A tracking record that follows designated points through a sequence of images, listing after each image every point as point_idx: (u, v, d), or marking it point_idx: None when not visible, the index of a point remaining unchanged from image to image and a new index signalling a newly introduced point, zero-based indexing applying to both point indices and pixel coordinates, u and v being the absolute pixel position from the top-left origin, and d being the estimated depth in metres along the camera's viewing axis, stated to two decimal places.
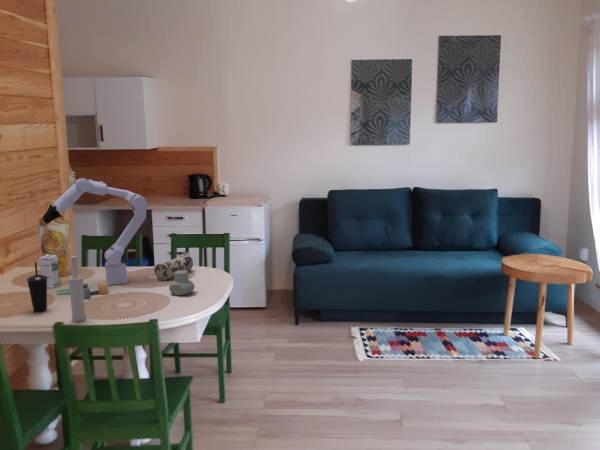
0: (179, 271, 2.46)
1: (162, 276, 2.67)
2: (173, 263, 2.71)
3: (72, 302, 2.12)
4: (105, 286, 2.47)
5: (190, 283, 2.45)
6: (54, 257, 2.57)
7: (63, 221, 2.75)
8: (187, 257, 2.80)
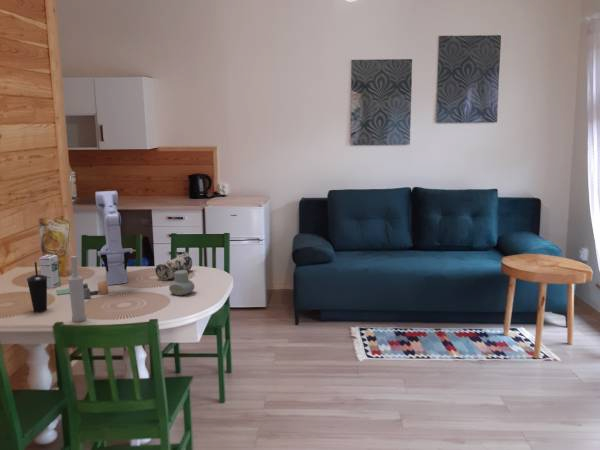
0: (179, 271, 2.46)
1: (163, 276, 2.67)
2: (174, 263, 2.71)
3: (72, 302, 2.12)
4: (105, 286, 2.47)
5: (190, 283, 2.45)
6: (54, 257, 2.57)
7: (63, 221, 2.75)
8: (186, 257, 2.81)
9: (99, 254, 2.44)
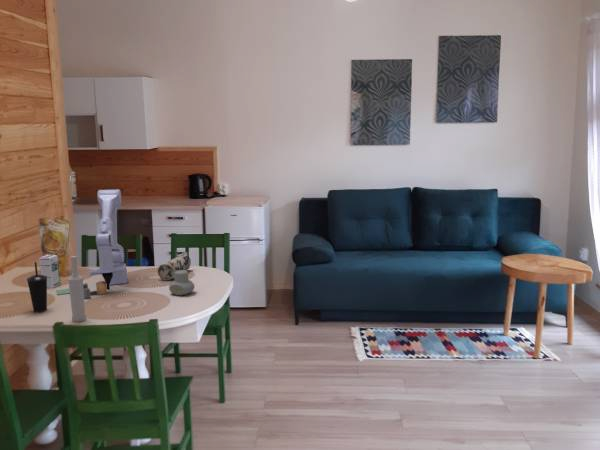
0: (179, 271, 2.46)
1: (166, 276, 2.66)
2: (175, 263, 2.71)
3: (72, 302, 2.12)
4: (103, 286, 2.46)
5: (190, 283, 2.45)
6: (54, 257, 2.57)
7: (63, 221, 2.75)
8: (185, 256, 2.81)
9: (91, 274, 2.44)
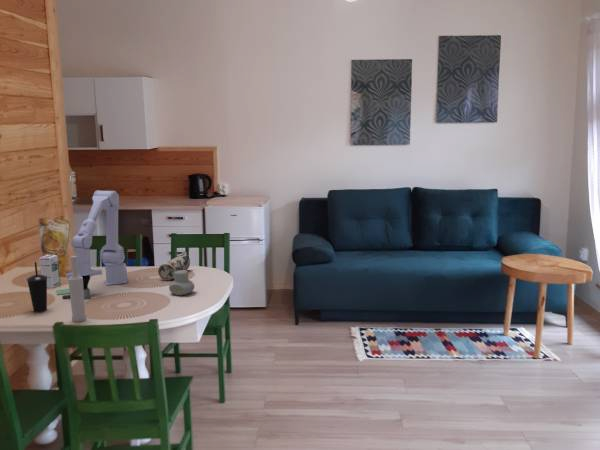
0: (179, 271, 2.46)
1: (167, 276, 2.66)
2: (175, 263, 2.71)
3: (72, 302, 2.12)
4: None
5: (190, 283, 2.45)
6: (54, 257, 2.57)
7: (63, 221, 2.75)
8: (185, 256, 2.82)
9: (68, 277, 2.40)
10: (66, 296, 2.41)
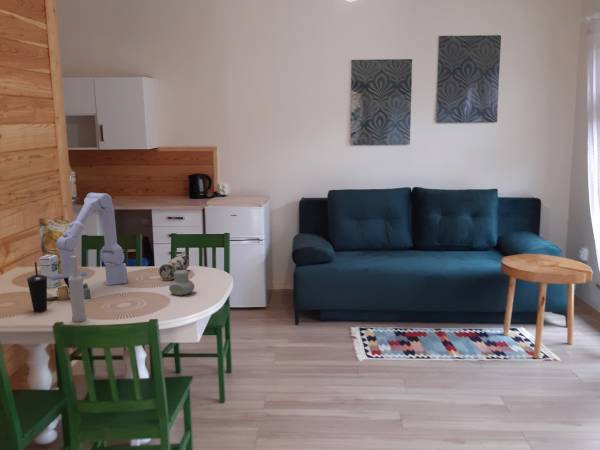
0: (179, 271, 2.46)
1: (168, 276, 2.66)
2: (176, 263, 2.71)
3: (72, 302, 2.12)
4: (65, 291, 2.40)
5: (190, 283, 2.45)
6: (54, 257, 2.57)
7: (63, 221, 2.75)
8: (184, 256, 2.82)
9: (52, 279, 2.37)
10: (50, 298, 2.38)
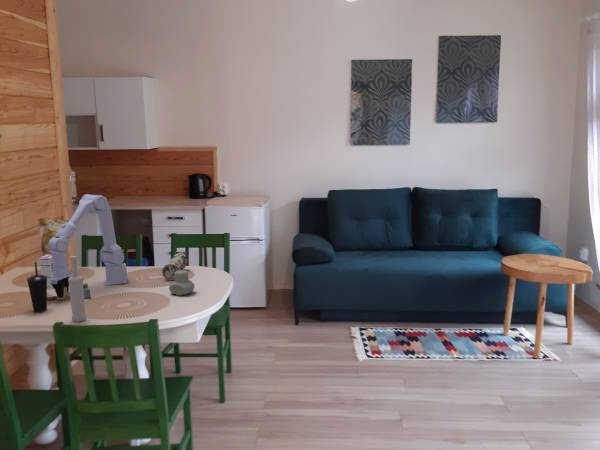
0: (179, 271, 2.46)
1: (172, 276, 2.66)
2: (178, 262, 2.72)
3: (72, 302, 2.12)
4: (64, 291, 2.40)
5: (190, 283, 2.45)
6: None
7: (63, 221, 2.75)
8: (182, 256, 2.83)
9: (56, 281, 2.33)
10: (48, 298, 2.38)
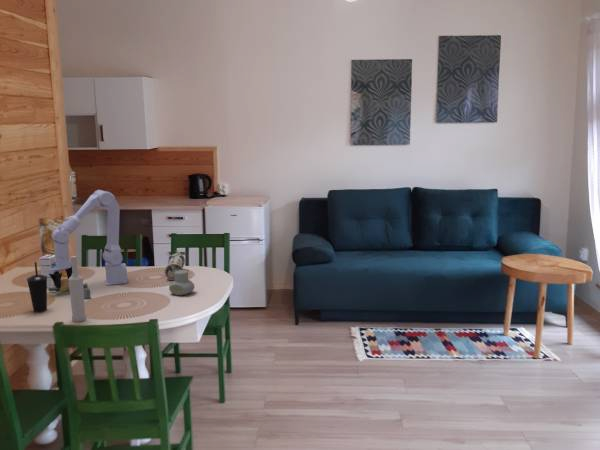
0: (179, 271, 2.46)
1: None
2: (179, 262, 2.72)
3: (72, 302, 2.12)
4: (64, 284, 2.49)
5: (190, 283, 2.45)
6: (54, 257, 2.57)
7: (63, 221, 2.75)
8: (181, 256, 2.83)
9: (53, 272, 2.42)
10: (51, 289, 2.50)
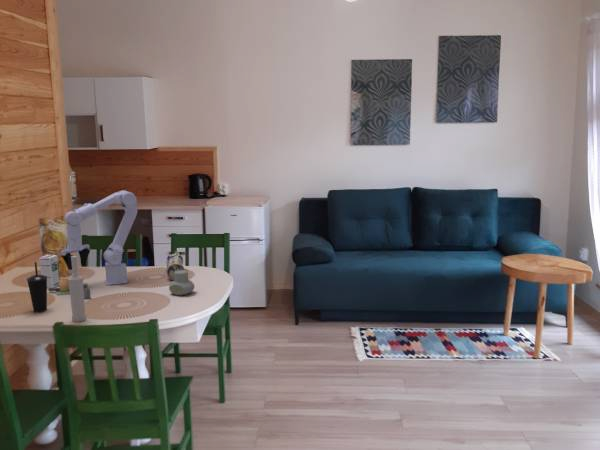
0: (179, 271, 2.46)
1: None
2: (179, 262, 2.72)
3: (72, 302, 2.12)
4: (64, 284, 2.49)
5: (190, 283, 2.45)
6: (54, 257, 2.57)
7: (63, 221, 2.75)
8: (179, 256, 2.83)
9: (65, 253, 2.46)
10: (51, 289, 2.50)
